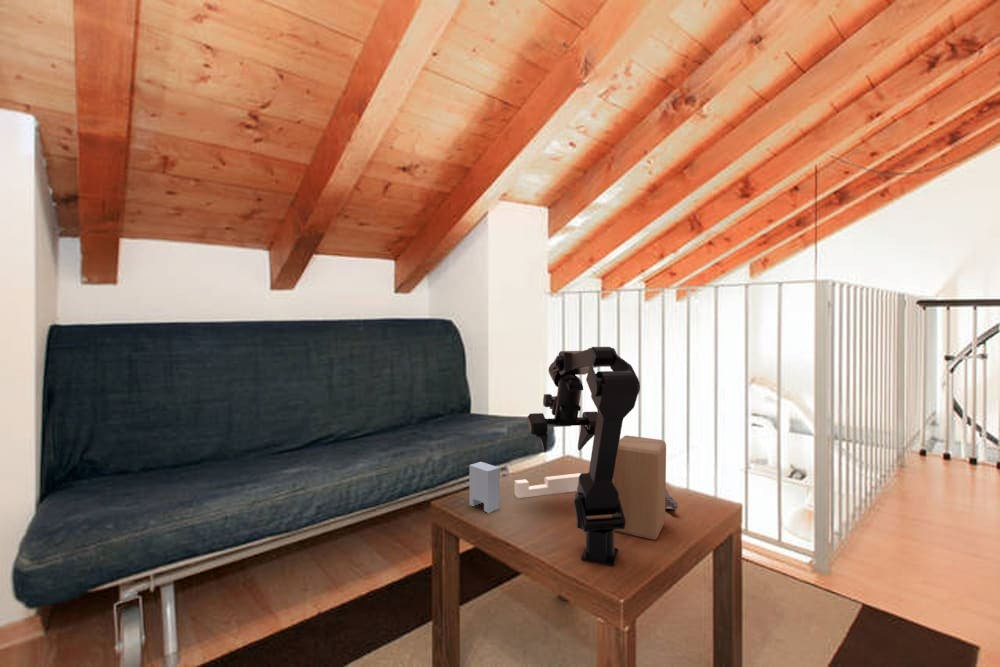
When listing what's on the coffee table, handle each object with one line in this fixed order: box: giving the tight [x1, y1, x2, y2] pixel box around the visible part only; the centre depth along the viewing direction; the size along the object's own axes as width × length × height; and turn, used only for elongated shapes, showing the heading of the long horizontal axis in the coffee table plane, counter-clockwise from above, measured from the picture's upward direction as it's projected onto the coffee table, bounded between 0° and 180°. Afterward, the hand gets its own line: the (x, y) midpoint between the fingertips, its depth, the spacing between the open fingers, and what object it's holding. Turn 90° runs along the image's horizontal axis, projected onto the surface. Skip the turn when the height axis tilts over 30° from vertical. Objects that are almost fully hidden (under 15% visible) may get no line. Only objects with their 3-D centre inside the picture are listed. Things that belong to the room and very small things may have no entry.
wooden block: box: [613, 435, 667, 540], centre depth 105 cm, size 10×10×20 cm
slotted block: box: [468, 461, 500, 514], centre depth 117 cm, size 7×4×10 cm, turn 45°
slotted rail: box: [514, 472, 582, 499], centre depth 127 cm, size 2×20×4 cm, turn 107°
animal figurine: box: [665, 489, 679, 510], centre depth 117 cm, size 12×4×5 cm, turn 5°
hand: (561, 450), depth 120 cm, fingers open, 9 cm apart
